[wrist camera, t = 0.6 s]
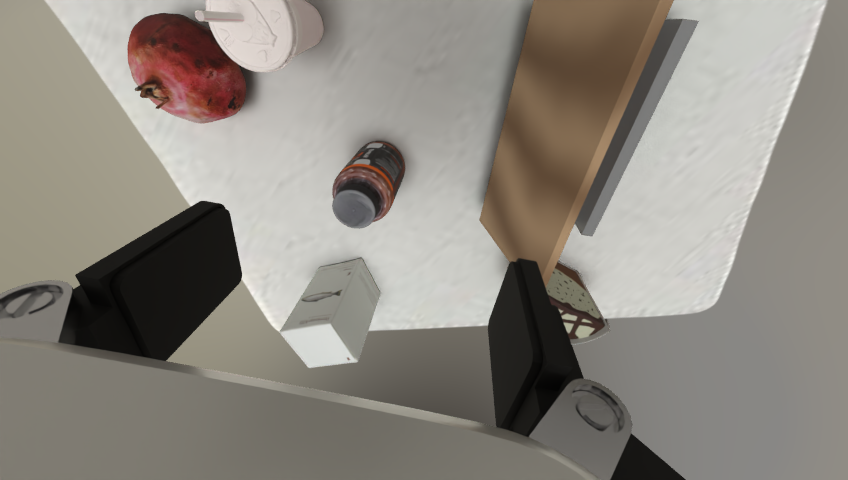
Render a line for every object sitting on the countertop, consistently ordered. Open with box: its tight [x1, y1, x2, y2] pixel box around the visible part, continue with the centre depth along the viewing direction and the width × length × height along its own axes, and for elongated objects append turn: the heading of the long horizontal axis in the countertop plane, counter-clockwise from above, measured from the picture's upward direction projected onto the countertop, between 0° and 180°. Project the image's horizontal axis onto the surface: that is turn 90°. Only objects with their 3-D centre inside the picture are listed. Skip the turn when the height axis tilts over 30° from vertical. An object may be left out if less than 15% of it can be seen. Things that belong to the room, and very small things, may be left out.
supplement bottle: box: [332, 142, 405, 228], centre depth 33 cm, size 6×6×11 cm
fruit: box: [128, 13, 246, 123], centre depth 30 cm, size 9×10×10 cm
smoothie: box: [195, 0, 324, 72], centre depth 25 cm, size 6×6×14 cm
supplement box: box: [280, 258, 380, 368], centre depth 43 cm, size 7×7×13 cm
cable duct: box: [575, 19, 699, 236], centre depth 32 cm, size 20×12×4 cm, turn 174°
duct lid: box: [480, 0, 674, 287], centre depth 26 cm, size 20×12×1 cm
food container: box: [546, 261, 610, 345], centre depth 40 cm, size 12×6×10 cm, turn 63°
